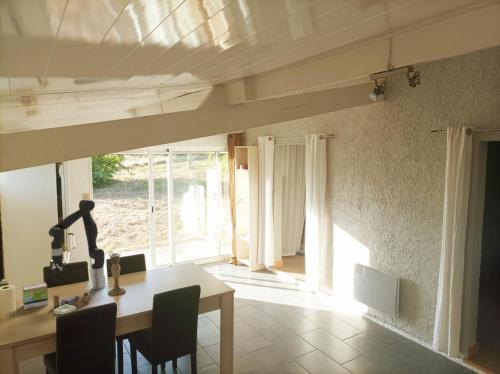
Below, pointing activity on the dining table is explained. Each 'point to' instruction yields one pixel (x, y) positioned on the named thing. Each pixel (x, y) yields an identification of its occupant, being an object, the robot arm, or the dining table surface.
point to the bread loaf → (56, 301)
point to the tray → (64, 309)
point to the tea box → (35, 295)
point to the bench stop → (82, 300)
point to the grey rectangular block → (68, 300)
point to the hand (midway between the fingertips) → (58, 275)
